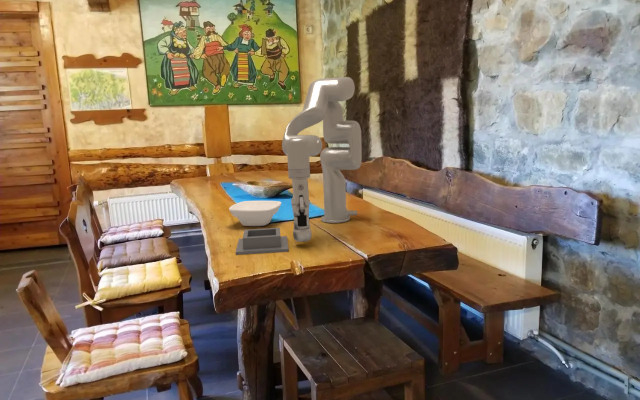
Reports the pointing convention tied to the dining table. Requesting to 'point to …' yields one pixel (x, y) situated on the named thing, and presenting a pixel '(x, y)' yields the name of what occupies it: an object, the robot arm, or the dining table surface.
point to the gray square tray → (262, 241)
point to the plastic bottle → (301, 232)
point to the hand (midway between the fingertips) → (301, 223)
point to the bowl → (255, 212)
